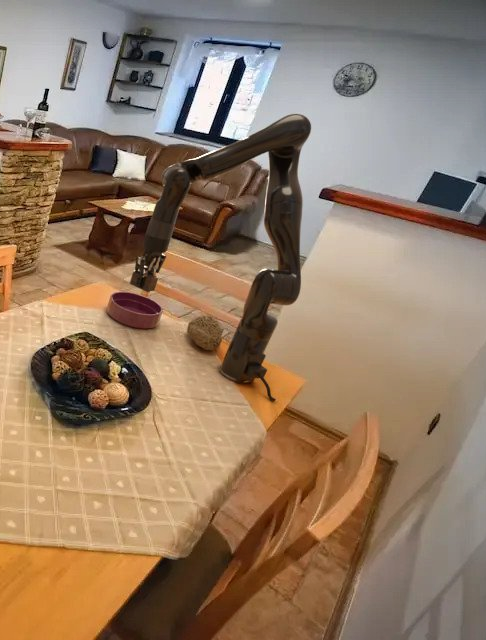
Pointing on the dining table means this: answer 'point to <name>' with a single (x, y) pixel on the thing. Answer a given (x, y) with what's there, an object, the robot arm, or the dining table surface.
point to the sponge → (206, 332)
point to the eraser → (145, 281)
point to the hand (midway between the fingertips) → (142, 286)
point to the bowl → (134, 310)
